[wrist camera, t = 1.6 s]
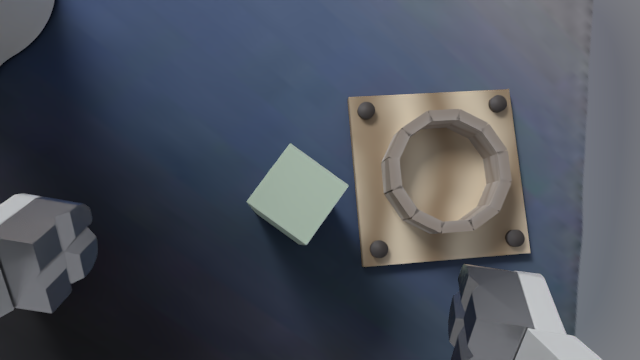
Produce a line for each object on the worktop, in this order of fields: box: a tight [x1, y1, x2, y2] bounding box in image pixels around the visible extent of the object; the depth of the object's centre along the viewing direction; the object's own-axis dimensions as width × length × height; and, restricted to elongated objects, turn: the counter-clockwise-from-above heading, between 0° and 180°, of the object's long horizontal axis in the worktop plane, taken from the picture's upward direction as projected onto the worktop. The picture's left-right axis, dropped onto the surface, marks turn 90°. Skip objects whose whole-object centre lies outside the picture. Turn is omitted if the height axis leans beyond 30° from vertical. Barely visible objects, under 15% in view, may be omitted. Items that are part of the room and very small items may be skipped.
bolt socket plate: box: [348, 89, 531, 267], centre depth 44 cm, size 16×16×4 cm
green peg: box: [247, 143, 349, 245], centre depth 38 cm, size 5×5×12 cm
